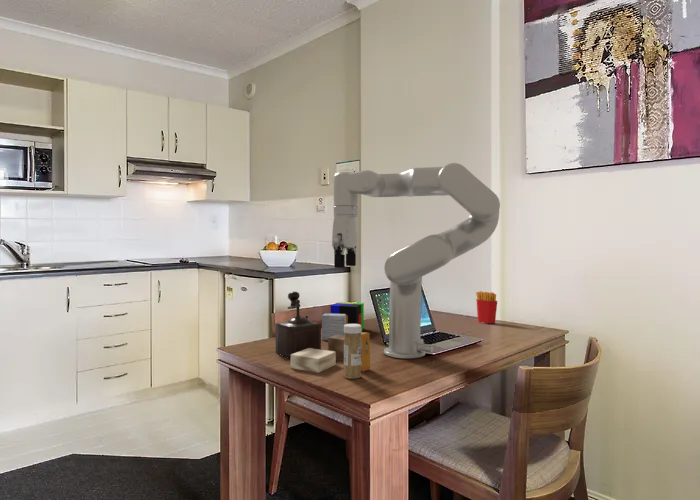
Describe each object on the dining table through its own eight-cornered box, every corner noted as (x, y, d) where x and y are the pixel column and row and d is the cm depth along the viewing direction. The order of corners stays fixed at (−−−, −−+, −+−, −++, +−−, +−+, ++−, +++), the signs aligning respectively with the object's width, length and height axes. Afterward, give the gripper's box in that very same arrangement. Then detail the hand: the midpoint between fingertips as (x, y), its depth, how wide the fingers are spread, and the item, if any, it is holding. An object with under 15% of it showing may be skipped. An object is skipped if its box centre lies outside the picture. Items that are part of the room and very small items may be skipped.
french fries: (498, 323, 201) (499, 292, 200) (492, 325, 198) (493, 293, 198) (479, 320, 208) (479, 290, 207) (473, 321, 205) (473, 291, 204)
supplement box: (360, 367, 134) (360, 331, 134) (370, 369, 132) (370, 332, 132) (352, 369, 132) (353, 332, 131) (362, 372, 130) (363, 334, 129)
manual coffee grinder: (323, 354, 149) (324, 295, 148) (293, 360, 142) (293, 298, 141) (295, 344, 161) (295, 290, 160) (266, 349, 153) (266, 292, 153)
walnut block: (351, 356, 146) (351, 336, 146) (342, 360, 142) (342, 339, 142) (336, 354, 149) (337, 334, 149) (328, 357, 144) (328, 337, 144)
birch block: (335, 365, 137) (335, 351, 137) (318, 373, 129) (318, 358, 129) (308, 361, 141) (308, 347, 141) (290, 369, 133) (290, 354, 133)
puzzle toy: (330, 332, 182) (330, 305, 181) (338, 327, 191) (339, 301, 191) (356, 334, 179) (356, 306, 178) (363, 328, 188) (363, 303, 188)
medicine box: (346, 338, 171) (346, 313, 171) (344, 341, 167) (344, 315, 166) (323, 337, 172) (323, 313, 172) (321, 340, 167) (321, 315, 167)
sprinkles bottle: (359, 379, 123) (360, 326, 122) (341, 378, 124) (342, 326, 123) (362, 374, 127) (362, 323, 127) (344, 373, 128) (345, 322, 128)
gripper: (344, 213, 163) (344, 264, 163) (323, 211, 146) (323, 268, 147) (365, 213, 160) (365, 265, 161) (346, 210, 144) (346, 268, 144)
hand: (345, 266), depth 154 cm, fingers open, 9 cm apart
